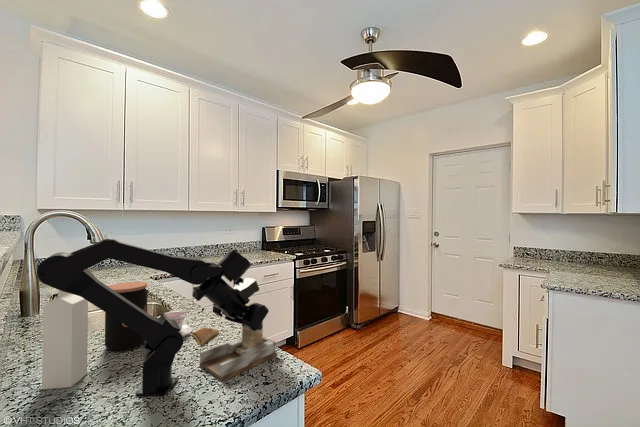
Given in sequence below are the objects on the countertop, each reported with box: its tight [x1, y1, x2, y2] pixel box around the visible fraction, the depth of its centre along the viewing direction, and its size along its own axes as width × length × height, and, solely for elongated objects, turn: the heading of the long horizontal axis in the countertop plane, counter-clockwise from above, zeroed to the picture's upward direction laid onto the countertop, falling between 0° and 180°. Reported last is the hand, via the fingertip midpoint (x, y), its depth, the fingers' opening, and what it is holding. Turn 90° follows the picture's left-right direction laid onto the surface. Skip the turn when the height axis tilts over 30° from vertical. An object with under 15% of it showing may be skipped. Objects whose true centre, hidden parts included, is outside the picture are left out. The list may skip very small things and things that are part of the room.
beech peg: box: [236, 301, 264, 355], centre depth 84 cm, size 6×6×13 cm
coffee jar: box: [104, 281, 148, 353], centre depth 90 cm, size 11×11×18 cm
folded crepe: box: [191, 327, 220, 347], centre depth 96 cm, size 11×8×2 cm
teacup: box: [163, 310, 193, 338], centre depth 100 cm, size 12×12×6 cm
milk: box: [41, 290, 89, 390], centre depth 70 cm, size 6×6×22 cm
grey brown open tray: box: [199, 336, 278, 382], centre depth 81 cm, size 17×11×4 cm, turn 139°
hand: (256, 326), depth 85 cm, fingers closed on beech peg, 4 cm apart
